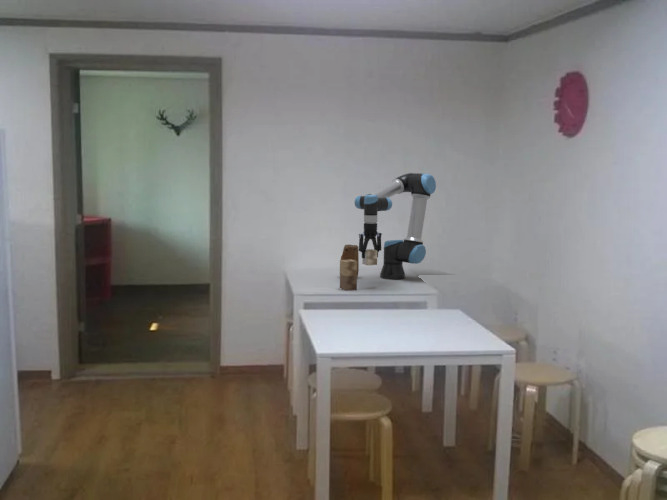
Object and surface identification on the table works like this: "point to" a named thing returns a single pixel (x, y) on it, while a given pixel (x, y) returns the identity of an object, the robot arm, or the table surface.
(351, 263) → the oak block
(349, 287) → the walnut block
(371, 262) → the maple block
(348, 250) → the block
